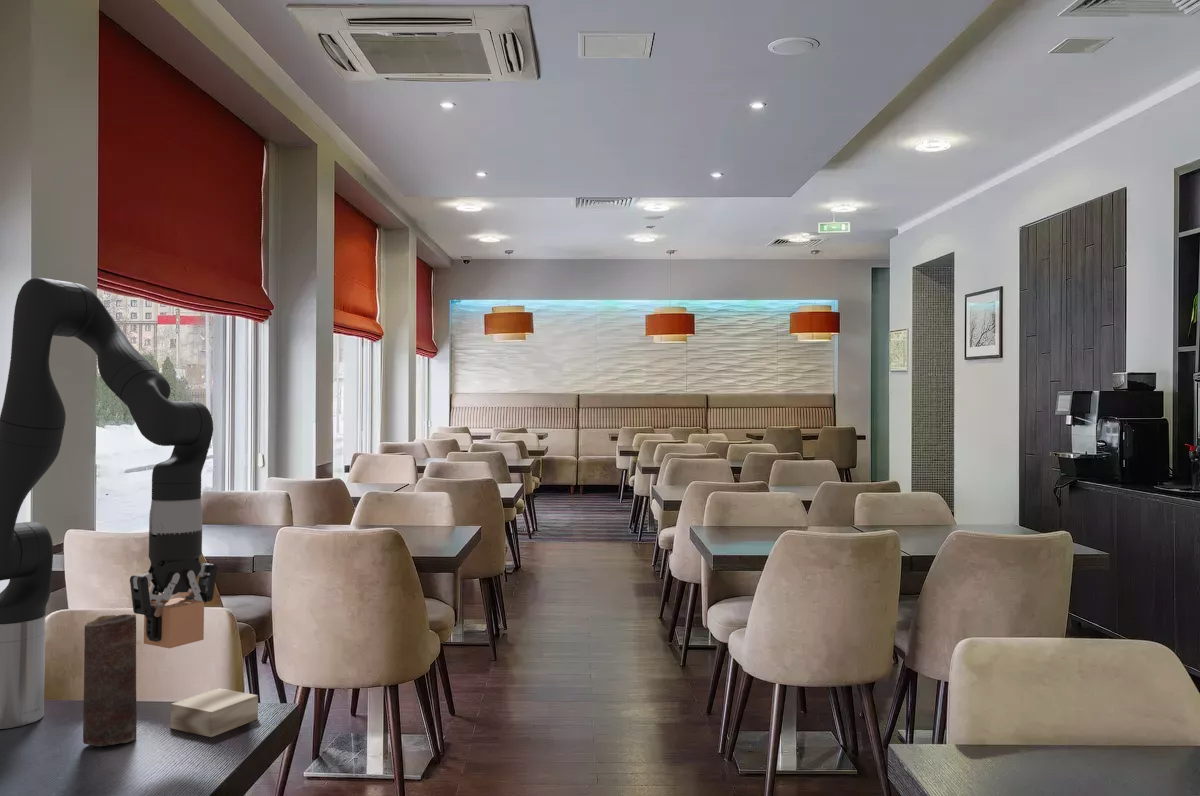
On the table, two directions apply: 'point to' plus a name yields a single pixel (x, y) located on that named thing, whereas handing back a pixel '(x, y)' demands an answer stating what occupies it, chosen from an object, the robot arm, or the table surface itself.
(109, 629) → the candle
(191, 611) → the terracotta cube
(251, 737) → the table surface
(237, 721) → the oak plinth
